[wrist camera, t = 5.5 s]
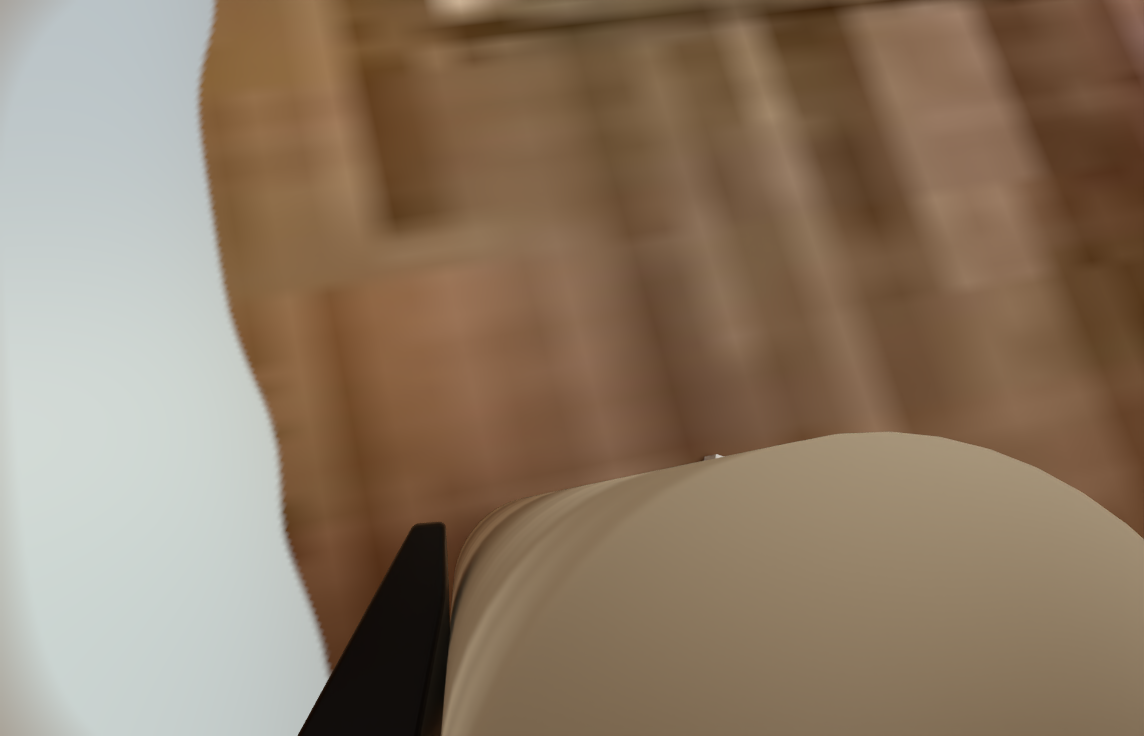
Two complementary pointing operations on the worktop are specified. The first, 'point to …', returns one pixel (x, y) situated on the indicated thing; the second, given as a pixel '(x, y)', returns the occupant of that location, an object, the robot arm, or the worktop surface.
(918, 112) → the worktop surface
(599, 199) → the worktop surface
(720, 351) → the worktop surface
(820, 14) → the worktop surface
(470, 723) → the peg
